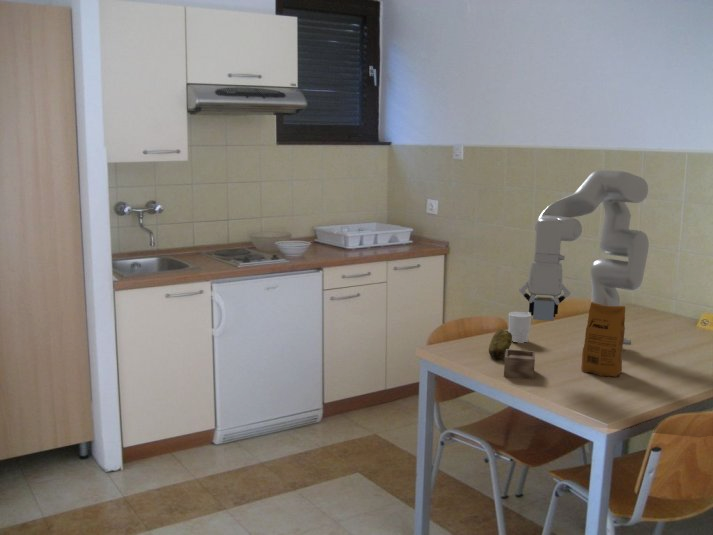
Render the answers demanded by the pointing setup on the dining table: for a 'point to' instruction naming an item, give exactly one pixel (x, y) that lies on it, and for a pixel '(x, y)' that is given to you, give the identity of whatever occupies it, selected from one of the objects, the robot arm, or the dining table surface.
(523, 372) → the box base
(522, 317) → the white cup
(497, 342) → the potato
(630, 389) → the dining table surface
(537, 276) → the robot arm
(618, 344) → the coffee package
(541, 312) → the cap block
